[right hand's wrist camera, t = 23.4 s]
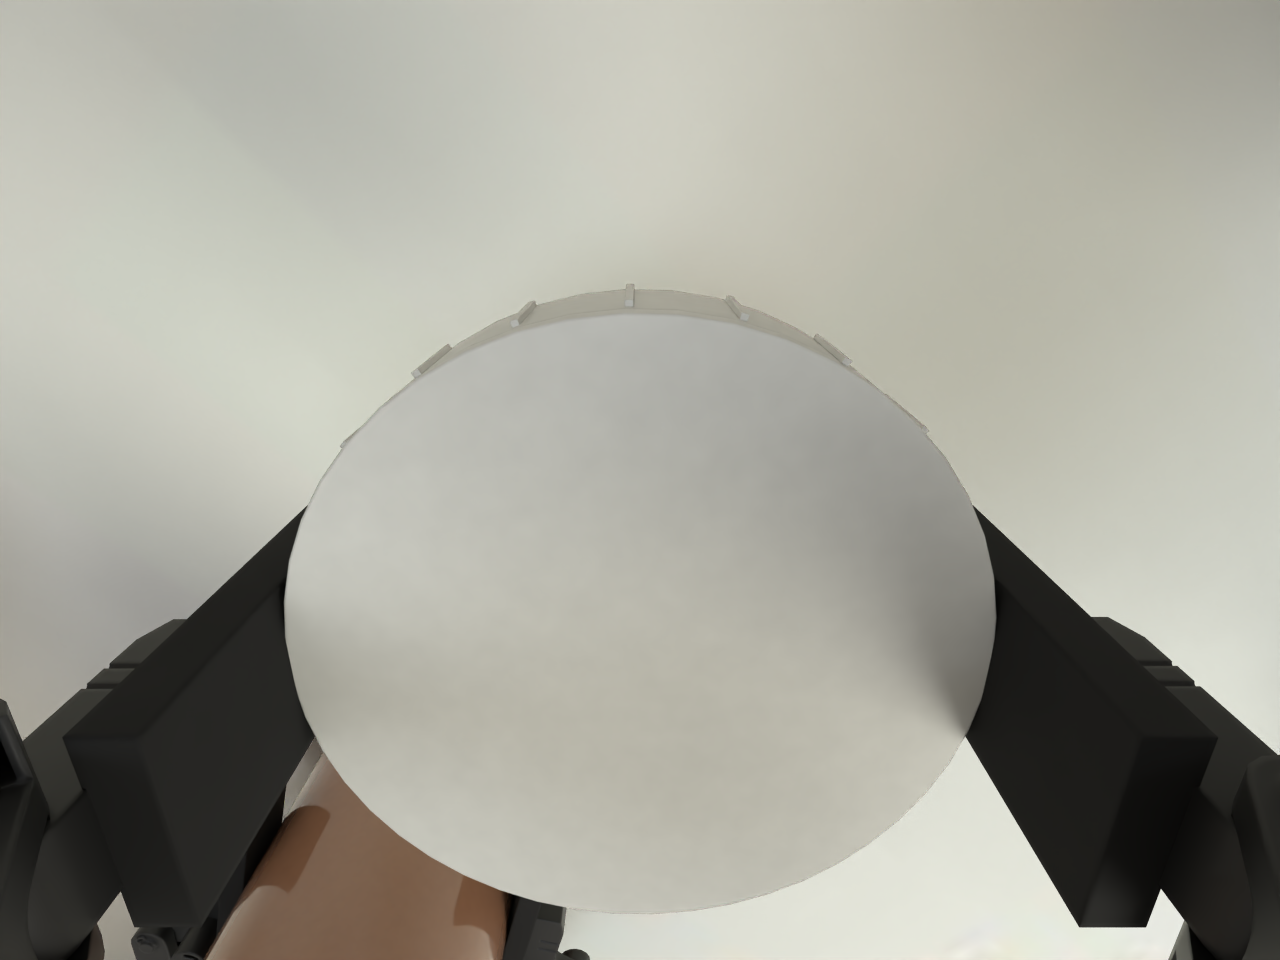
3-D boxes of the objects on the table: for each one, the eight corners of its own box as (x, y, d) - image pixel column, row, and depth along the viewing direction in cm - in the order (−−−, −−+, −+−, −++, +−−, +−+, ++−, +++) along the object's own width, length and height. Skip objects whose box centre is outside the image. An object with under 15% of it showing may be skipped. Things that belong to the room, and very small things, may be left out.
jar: (534, 839, 33) (437, 1395, 18) (343, 823, 33) (78, 1374, 18) (543, 684, 30) (433, 1203, 15) (330, 665, 30) (-10, 1174, 14)
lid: (248, 349, 11) (154, 388, 9) (935, 228, 10) (1011, 238, 8) (434, 840, 14) (399, 949, 12) (944, 773, 14) (998, 876, 12)
